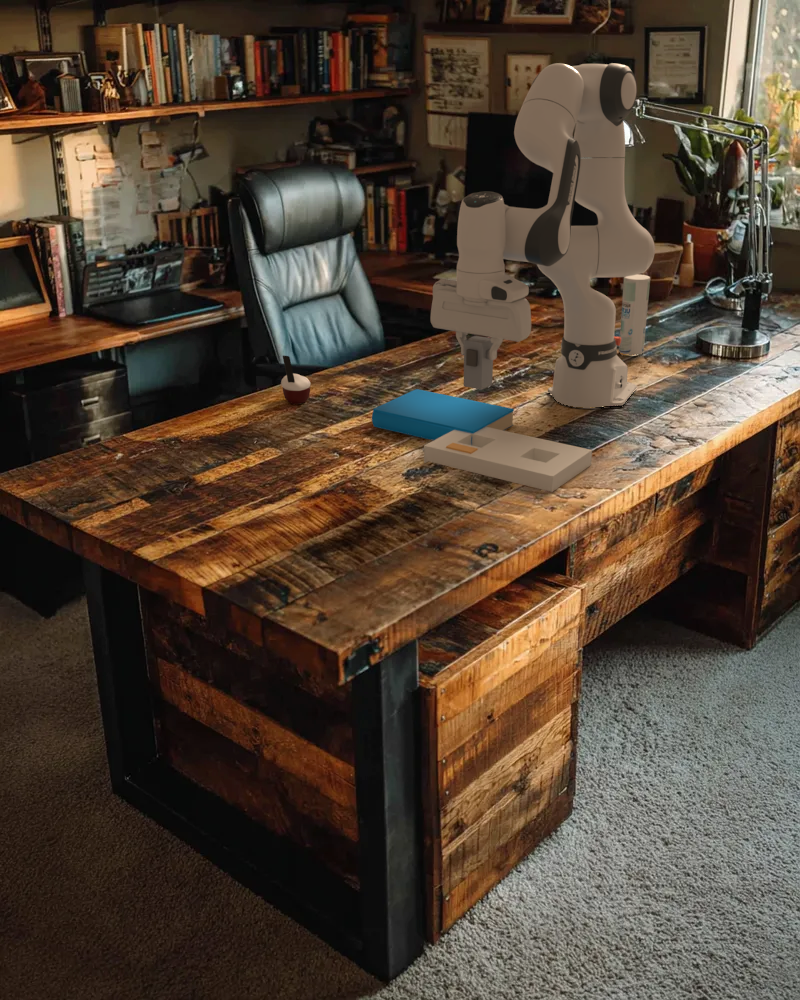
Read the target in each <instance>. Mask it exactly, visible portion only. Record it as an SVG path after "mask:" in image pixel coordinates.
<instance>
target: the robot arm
mask: <svg viewBox="0 0 800 1000" xmlns="http://www.w3.org/2000/svg"><path fill="white" fill-rule="evenodd" d="M637 95H638V84H637V79H636V76H635V74H634V72H633V71H632V70H631V68H630V67H629V66H628V65H625V64H621V63H613V62H611V63H609V64H607V63H606V64H605V63H582V64H579V65H572V66H571V65H569V64H565V63H562V62H559V63H557V62H556V63H552V64H549V65H547V66H546V67H544V68H542V70H541V71H540V72H539V73H538V75H536V77H535V78H534V79H533V80H532V83H531V86H530V88H529V90H528V92H527V94H526V96H525V97H524V100H523V102H522V105H521V108H520V110H519V112H518V115H517V117H516V119H515V125H514V128H513V129H514V131H513V135H514V139H515V143H516V145H517V147H518V149H519V150H520V152H521V153H522V154H523V155H524V157H525V158H527V159H528V160H529V161H530V162H532V163H534V164H535V165H537V166H540V167H542V168H544V169H546V170H547V171H549V172H551V173H552V179H551V185H550V189H549V190H550V191H549V196H548V200H547V204H545V205H544V206H543V207H539V208H527V207H518V206H517V207H516V206H509V205H508V204H505V202H504V201H505V200H504V198H503V195H502V194H500V193H499V192H494V191H479V192H472V193H470V194H468V195H467V196H465V197H463V199H462V200H461V203H460V207H459V212H458V220H457V228H456V229H457V230H456V231H457V232H456V234H457V235H456V246H457V250H458V260H457V263H456V280H451V279H450V280H448V279H445V278H441V279H439V280H438V281H435V283H434V284H433V286H432V303H431V307H430V308H431V310H430V323H431V325H432V327H433V328H435V329H441V330H446V331H451V332H452V331H453V332H455V337H456V339H457V341H458V344H459V346H460V354H461V355H462V356H464V340H466V339H468V338H467V336H468V334H471V335H474V336H481V337H487V338H491V343H493V345H492V347H491V348H490V349H489V350H486V359H489V360H493V361H494V360H496V359H497V357H498V350H499V348H500V347H501V345H502V343H503V341H504V340H506V341H513V342H518V343H519V342H521V341H525V340H526V339H527V338H528V337H529V336H530V335H531V331H532V313H531V312H532V311H531V306H530V302H529V301H528V300H527V299H526V298H525V297H527V296H528V295H529V293H530V291H529V290H530V289H529V286H528V285H527V284H526V283H524V282H522V281H520V280H518V279H517V278H514V277H513V276H511V275H509V274H508V273H506V272H505V271H506V270H505V269H506V266H505V262H504V260H508V261H515V262H527V263H531V264H535V265H536V267H538V269H539V270H540V272H541V273H542V274H543V275H545V276H546V277H547V278H548V279H549V280H551V282H552V283H553V284H554V285H555V286H556V288H557V290H558V292H559V294H560V296H561V298H562V303H563V311H564V312H563V313H564V320H563V321H564V326H563V329H564V330H563V331H564V332H563V337H561V338H562V339H561V343H560V353H561V356H559V357H558V358H557V359H556V360H555V364H554V365H555V366H554V373H553V381H552V386H550V387H548V388H547V392H549V393H550V394H552V395H553V396H552V395H551V396H552V398H553V397H554V399H555V400H556V401H557V402H556V401H555V400H554V399H553V400H554V401H555V402H556V403H558V402H560V403H561V404H560V403H559V404H560V405H563V404H564V405H563V406H566V405H568V406H567V407H570V406H573V407H572V408H576V407H583V408H582V409H591V408H590V407H602V406H609V405H612V406H613V405H615V406H616V405H617V406H618V405H623V404H624V403H625V402H626V401H627V399H628V398H629V397H630V396H631V394H632V393H633V391H634V390H635V389H636V388H637V387H638V385H636V384H635V383H633V382H630V381H628V374H629V372H628V365H627V364H626V363H625V362H624V361H623V360H622V359H621V358H620V357H619V356H618V350H617V348H618V347H619V345H620V343H621V337H620V336H615V329H616V326H615V325H616V316H617V315H616V314H617V309H616V305H615V303H614V301H613V299H611V298H610V297H609V296H606V295H605V294H604V293H602V292H600V291H597V290H595V289H594V288H592V287H591V284H590V282H591V279H594V278H624V277H627V276H632V275H636V274H640V275H642V274H644V273H646V271H647V270H649V268H650V267H651V265H652V263H653V261H654V258H655V253H656V245H655V242H654V239H653V236H652V234H651V233H650V232H649V230H647V229H646V228H645V227H643V226H642V225H641V224H640V223H639V222H638V221H637V220H636V219H635V217H634V215H633V214H632V211H631V210H630V208H629V206H628V205H629V204H628V202H627V197H626V192H625V191H626V187H625V165H626V164H625V162H626V160H625V159H626V158H625V157H626V136H625V135H626V134H625V125H624V120H625V119H626V118H627V117H628V116H629V114H630V113H631V112H632V110H633V108H634V107H635V105H636V101H637ZM575 202H576V203H577V204H578V205H580V206H582V207H584V208H586V209H588V211H589V210H590V211H591V212H593V213H595V214H596V217H597V224H595V225H572V220H573V219H572V218H573V213H574V207H575V206H574V205H575ZM637 389H638V388H637ZM550 394H549V395H550ZM631 397H632V396H631ZM631 397H630V398H631ZM627 402H628V401H627ZM627 402H626V403H627Z"/></svg>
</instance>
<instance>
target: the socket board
mask: <svg viewBox="0 0 800 1000" xmlns="http://www.w3.org/2000/svg"><path fill="white" fill-rule="evenodd" d="M471 437H472V445H471ZM592 457H593V449H588V448H585V447H580V446H575V445H571V444H567V443H562V442H557V441H553V440H548V439H544V438H539V437H535V436H532V435H531V436H529V435H525V434H521V433H515V432H512V431H507V430H504V431H503V430H499V429H494V428H490V427H484V428H482V429H480V430H478V431H477V432H475V433H473V434H472V433H468V432H464V431H459V430H453V431H451V432H449V433H447V434H445V435H443V436H441V437H439V438H438V439H436V440H431V441H430V442H428V443H426V444H424V445H423V464H426V463H428V462H430V463H433V464H437V465H443V466H445V467H450V468H454V469H458V470H461V471H467V472H470V473H472V474H473V473H474V474H479V475H481V476H485V477H489V478H494V479H499V480H502V481H507V482H511V483H515V484H519V485H522V486H526V487H531V488H534V489H538V490H543V491H547V492H551V493H552V492H554V491H555V490H557V489H559V488H560V487H561V486H563V485H564V484H566V483H567V482H569V481H570V480H572V479H573V478H574V477H576V476H578V474H580V473H581V472H583V471H584V470H586V469H587V468H589V467H590V466H592V459H593V458H592Z"/></svg>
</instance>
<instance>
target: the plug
mask: <svg viewBox="0 0 800 1000" xmlns="http://www.w3.org/2000/svg"><path fill="white" fill-rule="evenodd" d="M492 345H493V343H491V337H487V336H481V335H474V336H471V337H469V338H467V339H466V340H464V355H463V387H466V388H472V389H477V390H484V389H486V388H488V387H490V386H492V385H493V375H494V374H493V372H494V370H493V369H494V360H489V359H486V350H489V349H490V348H491V347H492Z"/></svg>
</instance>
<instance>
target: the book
mask: <svg viewBox="0 0 800 1000" xmlns="http://www.w3.org/2000/svg"><path fill="white" fill-rule="evenodd" d="M514 412H515V409H514V408H511V407H507V406H503V405H497V404H493V403H488V402H482V401H478V400H477V401H476V400H472V399H468V398H463V397H459V396H453V395H447V394H443V393H439V392H432V391H428V390H422V389H418V388H416V389H413V390H411V391H409V392H407V393H404V394H402V395H400V396H399V397H396V398H395V399H392V400H390V401H387V402H385V403H383V404H380V405H379V406H376V407H375V408H373V409H372V415H371V422H372V425H373V427H374V428H379V429H384V430H387V431H391V432H397V433H401V434H404V435H408V436H414V437H418V438H422V439H425V440H430V441H434V440H436V439H438V438H439V437H441V436H443V435H445V434H447V433H449V432H451V431H453V430H459V431H464V432H468V433H472V434H473V433H475V432H477V431H478V430H480V429H482V428H484V427H490V428H494V429H499V430H503V431H507V429H509V428H511V427H512V426H514V424H513V423H514V422H513V421H514V419H513V417H514ZM471 445H472V437H471Z"/></svg>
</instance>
